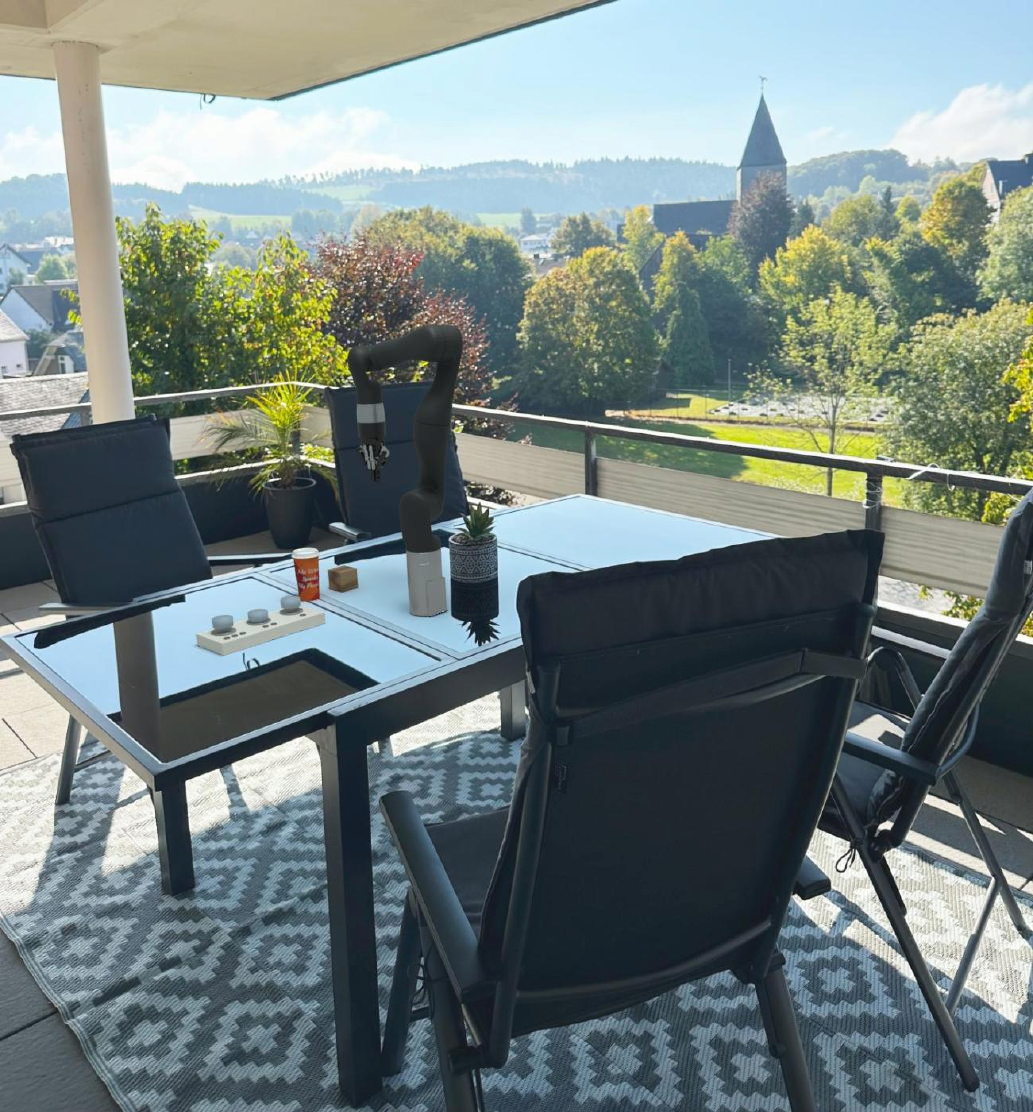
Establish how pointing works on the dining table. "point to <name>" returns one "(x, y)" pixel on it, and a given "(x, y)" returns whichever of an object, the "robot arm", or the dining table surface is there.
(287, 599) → the one-dot button
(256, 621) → the two-dot button
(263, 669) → the dining table surface
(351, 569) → the walnut block
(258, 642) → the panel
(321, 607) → the dining table surface
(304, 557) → the paper cup
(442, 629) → the dining table surface
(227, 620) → the three-dot button
